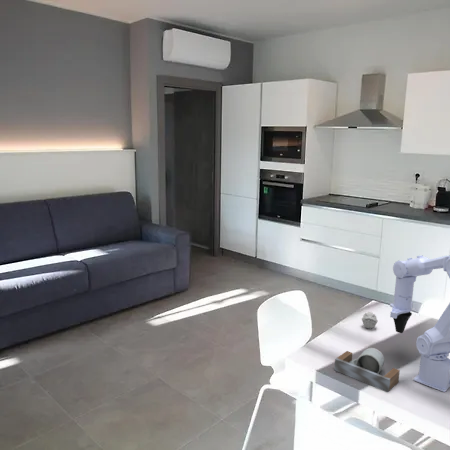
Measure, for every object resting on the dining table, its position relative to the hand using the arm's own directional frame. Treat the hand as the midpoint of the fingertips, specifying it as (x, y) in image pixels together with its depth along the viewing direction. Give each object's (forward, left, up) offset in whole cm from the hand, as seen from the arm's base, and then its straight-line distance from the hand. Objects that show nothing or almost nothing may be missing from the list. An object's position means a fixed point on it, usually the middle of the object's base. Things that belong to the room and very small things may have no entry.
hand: (399, 331), depth 153 cm
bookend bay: (+2, +20, -9) cm, 22 cm away
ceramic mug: (+4, +17, -10) cm, 20 cm away
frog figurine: (+18, -16, -10) cm, 26 cm away
